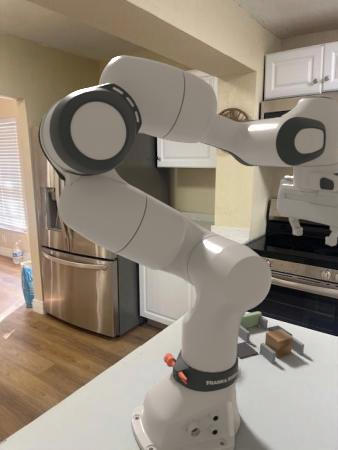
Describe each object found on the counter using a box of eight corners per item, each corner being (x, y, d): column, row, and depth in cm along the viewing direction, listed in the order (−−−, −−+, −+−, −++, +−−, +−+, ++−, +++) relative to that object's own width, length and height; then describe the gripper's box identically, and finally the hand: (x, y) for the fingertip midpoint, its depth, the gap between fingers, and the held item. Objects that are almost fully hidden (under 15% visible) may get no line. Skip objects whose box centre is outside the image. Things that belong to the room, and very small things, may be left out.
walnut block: (276, 358, 91) (278, 341, 90) (264, 348, 96) (266, 332, 95) (290, 354, 93) (292, 337, 92) (278, 344, 98) (279, 329, 97)
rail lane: (271, 363, 89) (273, 349, 88) (229, 328, 106) (230, 317, 105) (303, 354, 93) (304, 341, 92) (257, 322, 111) (258, 311, 110)
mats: (240, 358, 91) (240, 357, 91) (220, 340, 100) (220, 339, 100) (301, 341, 100) (301, 340, 100) (278, 326, 108) (278, 325, 108)
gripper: (270, 176, 80) (270, 232, 83) (346, 183, 61) (342, 255, 65) (290, 173, 82) (290, 227, 85) (369, 179, 64) (364, 248, 67)
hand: (313, 239), depth 75 cm, fingers open, 8 cm apart
